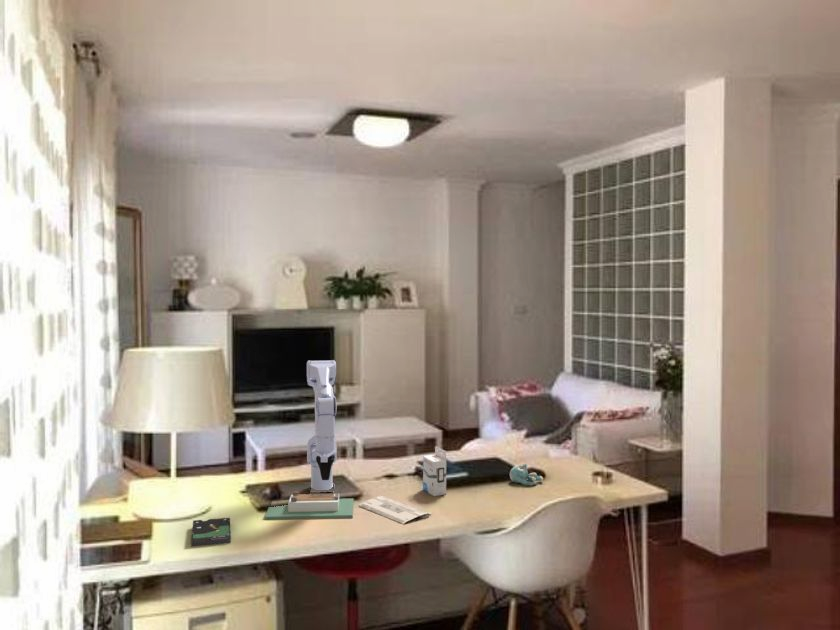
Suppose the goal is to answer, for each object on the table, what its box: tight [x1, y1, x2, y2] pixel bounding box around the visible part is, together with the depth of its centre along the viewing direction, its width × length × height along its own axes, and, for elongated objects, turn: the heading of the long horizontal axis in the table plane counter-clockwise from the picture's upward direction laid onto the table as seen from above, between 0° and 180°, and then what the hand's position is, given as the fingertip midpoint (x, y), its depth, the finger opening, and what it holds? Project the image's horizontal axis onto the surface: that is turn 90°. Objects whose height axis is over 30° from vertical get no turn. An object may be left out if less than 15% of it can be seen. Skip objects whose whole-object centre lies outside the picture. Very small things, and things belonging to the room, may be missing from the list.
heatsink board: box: [264, 491, 355, 520], centre depth 212 cm, size 16×26×5 cm, turn 94°
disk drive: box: [190, 517, 232, 548], centre depth 191 cm, size 10×3×15 cm
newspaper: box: [358, 495, 432, 525], centre depth 213 cm, size 23×12×2 cm, turn 42°
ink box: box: [422, 445, 447, 497], centre depth 231 cm, size 8×5×15 cm, turn 26°
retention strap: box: [295, 493, 335, 500], centre depth 212 cm, size 4×12×1 cm, turn 94°
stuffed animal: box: [509, 463, 544, 487], centre depth 244 cm, size 11×7×12 cm
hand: (325, 479), depth 213 cm, fingers closed
